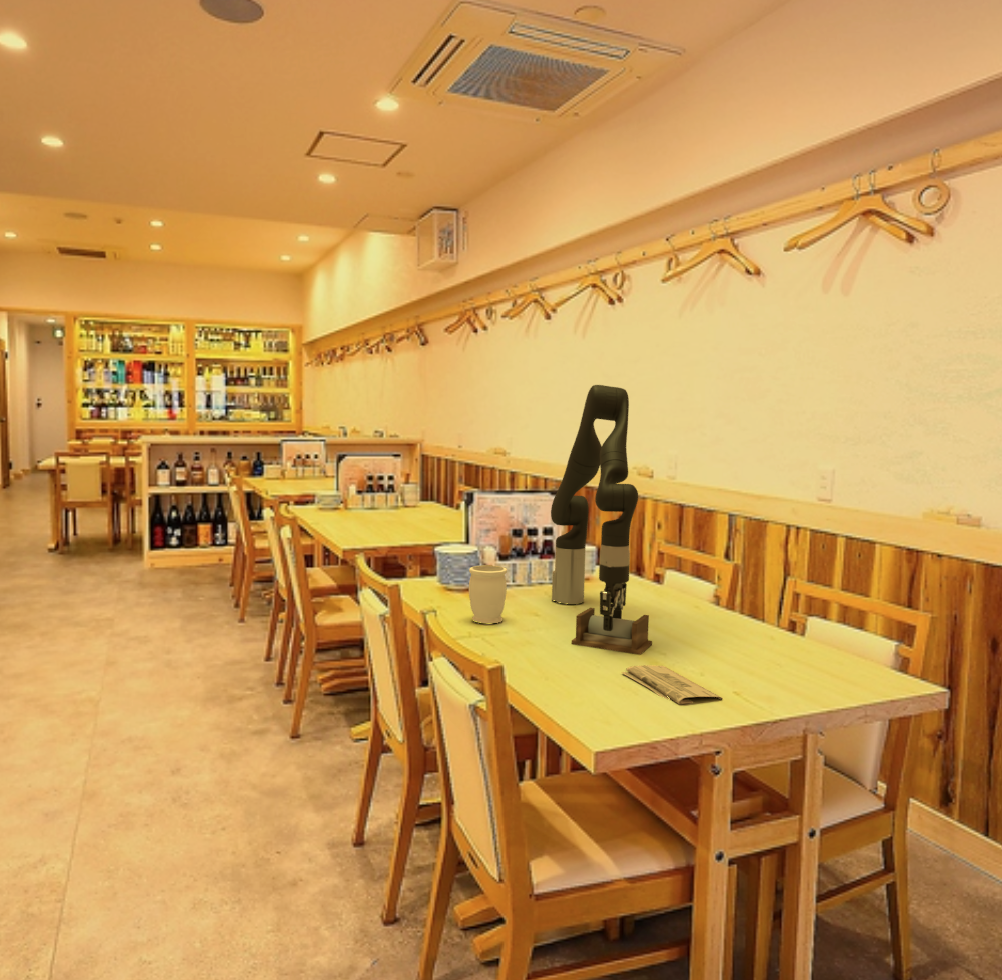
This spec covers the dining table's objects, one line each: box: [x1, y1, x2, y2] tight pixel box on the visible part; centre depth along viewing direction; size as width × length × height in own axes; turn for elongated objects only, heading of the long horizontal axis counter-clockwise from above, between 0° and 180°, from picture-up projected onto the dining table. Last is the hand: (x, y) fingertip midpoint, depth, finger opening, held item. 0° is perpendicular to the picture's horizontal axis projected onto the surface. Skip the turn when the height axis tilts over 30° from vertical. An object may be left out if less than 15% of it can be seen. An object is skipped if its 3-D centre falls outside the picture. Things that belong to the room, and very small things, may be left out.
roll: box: [588, 614, 636, 639], centre depth 203 cm, size 11×5×5 cm, turn 63°
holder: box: [571, 607, 653, 656], centre depth 203 cm, size 18×10×8 cm, turn 63°
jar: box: [468, 565, 508, 624], centre depth 223 cm, size 11×10×15 cm
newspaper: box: [621, 664, 723, 705], centre depth 172 cm, size 23×12×2 cm, turn 20°
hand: (612, 627), depth 203 cm, fingers open, 6 cm apart
